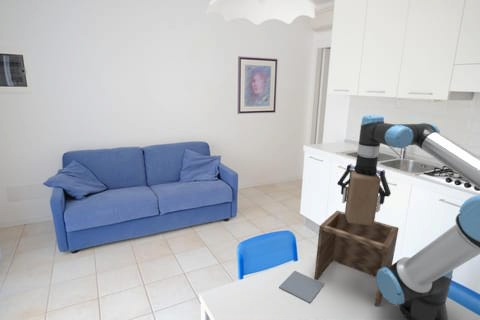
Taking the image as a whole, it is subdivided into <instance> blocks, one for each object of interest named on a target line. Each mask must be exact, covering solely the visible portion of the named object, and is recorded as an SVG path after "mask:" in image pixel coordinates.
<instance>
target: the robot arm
mask: <svg viewBox="0 0 480 320" xmlns="http://www.w3.org/2000/svg"><path fill="white" fill-rule="evenodd" d="M381 145H384V146H389V147H391V148H397V149H405V148H407V147H409V146H415V147H418V148H420V150H422V151H424V152H426V153H427V154H429V155H430V156H431V157H432V158H434V159H436V160H437V161H438V162H440V163H442V164H443V165H444V166H446V167H447V168H448V169H450V170H452V171H453V172H454V173H455V174H457V175H459V176H460V177H461V178H463V179H464V180H466V181H467V182H469V183H470V184H471V185H473V186H474V187H475V188H477V189H479V190H480V156H478V155H477V154H475V153H474V152H472V151H471V150H468V149H467V148H466V147H464V146H462V145H460V144H459V143H457V142H455V141H453V139H450V138H449V137H448V136H445V135H443V134H442V133H441V132H440V129H439V128H438V126H437V125H435V124H433V123H426V122H422V123H399V124H398V123H397V124H395V123H389V122H388V123H387V122H385V117H384V116H382V115H375V114H365V115H363V117H362V119H361V123H360V130H359V140H358V147H357V156H356V162H355V165H354V164H352V163H350V164H347V166H346V170H345V171H344V173H343V174H342V176H341V177H340V178H339V180H338V181H337V183H336V184H337V186H339V187H340V186H341V191H340V194H341V195H342V199H341V200H342V204H346V200H347V192H348V184H349V183H350V179H349V178H348V179H347V180H346V178H347V177H348V175H350V171H351V170H355V172H356V173H359V174H366V175H369V176H374V175H375V174H377V175H378V176H379V178H380V180H381V181H380V183H381V185H380V188H379V194H378V201H377V207H376V213H379V211H380V210H381V205H384V203H385V198H386V197H390V196H391V194H392V193H391V189H390V187H389V183H388V181H387V177H386V170H385V169H383V170H379V169H377V168H378V161H379V157H378V156H379V154H380V149H381V147H380V146H381ZM344 181H345V182H344ZM458 212H459V213H458V214H457V215H455V224H454V225H453V226H452V227H450V228H449V229H447V230H446V231H445V232H443V233H441V235H440V236H438V237H437V238H435V239H434V240H433V241H431V242H430V243H429V244H427V245H426V246H425V247H423V248H422V249H421V250H419V251H418V252H416V253H415V254H414V255H412V256H411V257H407V256H406V257H405V256H404V257H402V258H399V259H398V260H397V261H396V262H394V263H392V265H391V266H389V267H383V268H382V269H379V270H378V272H377V275H376V277H375V279H376V284H377V288H378V287H379V290H380V292H381V293H382V295H383V296H382V297H384V298H385V300H387V301H388V302H389V303H391V304H393V305H399V309H400V311H401V313H402V315H403V316H404V317H405V318H406V319H407V320H449V317H448V309H447V305H446V302H447V298H448V294H449V292H450V291H449V290H450V287H451V283H452V279H453V273H454V270H456V269H458V267H461V266H462V265H464V264H465V263H467V262H469V261H471V260H472V259H474V258H475V257H477V256H479V255H480V193H479V194H476V195H473V196H471V197H469V198H467V199H466V200H465V201H464V202H463V203H462V205H461V206H460V208H459V211H458Z"/></svg>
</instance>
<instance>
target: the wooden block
mask: <svg viewBox="0 0 480 320" xmlns="http://www.w3.org/2000/svg"><path fill="white" fill-rule="evenodd" d="M349 179H350V183H349V184H348V185H347V187H348V191H347V199H346V202H345V209H344V213H345V214H346V218H347V221H348V223H353V224H361V225H369V226H373V224H374V221H376V220H375V219H376V213H377V212H376V208H377V201H378V196H379V195H380V194H379V188H380V186H381V179H380V176H379V175H378V174H377V173H376V174H375V175H374V176H369V175H366V174H359V173H356V172H355V170H354V169H353V170H351V171H350V173H349V177H348V180H349Z"/></svg>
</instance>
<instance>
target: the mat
mask: <svg viewBox="0 0 480 320" xmlns="http://www.w3.org/2000/svg"><path fill="white" fill-rule="evenodd" d="M324 286H325V283H323V282H321V281H319V280H318V279H317V280H316V279H314V278H313V277H310V276H307V275H305V274H303V273H301V272H299V271H297V270H293V272H292V273H291V274H289V276H288V277H287V278H286V279H285V280H284V281H283V282H282V283H281V284H280V285H279V286H278V288H279V290H282V291H283V292H286V293H288V294H289V295H292V296H294V297H296V298H298V299H300V300H302V301H304V302H306V303H308V304H312V302H313V301H314V300H315V298H316V297H317V295H318V294H319V293H320V292H321V290H322V289H323V287H324Z"/></svg>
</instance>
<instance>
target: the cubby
mask: <svg viewBox="0 0 480 320" xmlns="http://www.w3.org/2000/svg"><path fill="white" fill-rule="evenodd" d="M318 228H319V229H318V240H317V250H316V259H315V266H314V267H315V269H314V278H313V279H315V280H317V281H318V279H319V278H320V277H321V276H322V275H323V273H324V272H325V271H326V270H327V268H328V267H329V266H330V264H332V262H335V263H338V264H341V265H344V266H347V267H348V268H352V269H354V270H357V271H359V272H362V273H365V274H367V275H369V276H372V277H374V278H376V275H377V272H378V270H379V269H382V268H383V267H389V266H391V265H393V261H394V255H395V251H396V246H397V245H396V244H397V238H398V234H399V230H400V229H399V227H397V226H395V225H394V226H393V225H390V224H387V223H383V222H379V221H376V220H374V224H373V226H369V225H361V224H353V223H348V221H347V218H346V214H345V211H340V210H336V211H335V212H333V213H332V214H331V215H330V216H329V217H327V219H325V221H324V222H322V223H321V224H320V225H319V227H318ZM383 297H384V296H383V295H382V293H381V292H380V290H379V287H378V286H377V289H376V293H375V300H374V306H375V307H377V308H378V307H379V306H380V304H381V301H382V298H383Z"/></svg>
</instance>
